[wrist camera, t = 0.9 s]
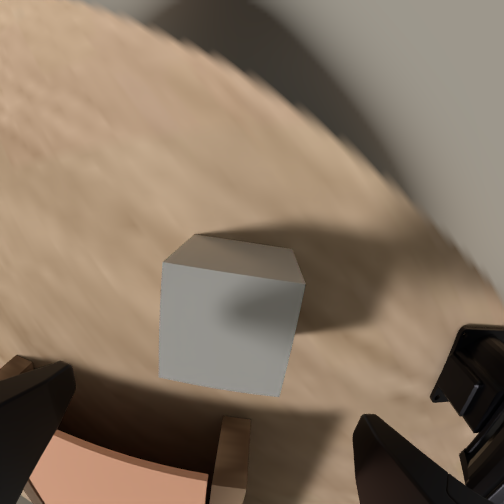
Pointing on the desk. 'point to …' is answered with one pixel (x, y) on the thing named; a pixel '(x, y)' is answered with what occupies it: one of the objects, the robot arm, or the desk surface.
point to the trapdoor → (110, 477)
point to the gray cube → (229, 314)
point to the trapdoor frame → (227, 461)
